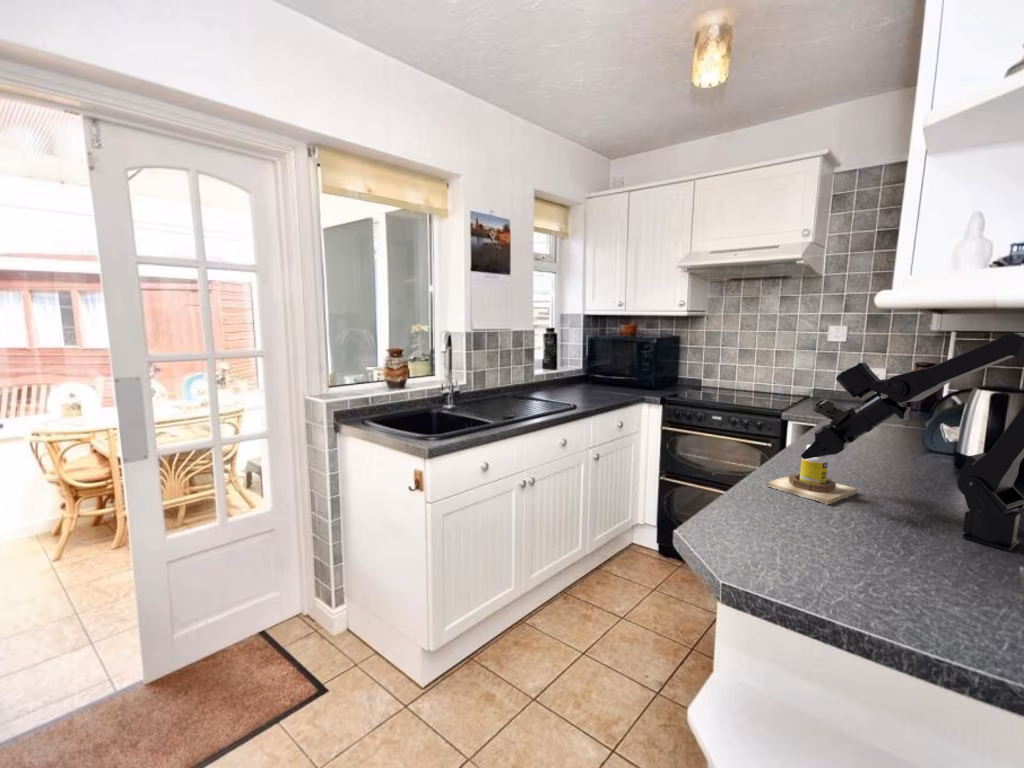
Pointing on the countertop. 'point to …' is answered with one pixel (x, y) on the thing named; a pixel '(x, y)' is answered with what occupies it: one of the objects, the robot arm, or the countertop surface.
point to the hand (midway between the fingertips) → (807, 453)
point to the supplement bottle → (814, 470)
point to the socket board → (813, 495)
